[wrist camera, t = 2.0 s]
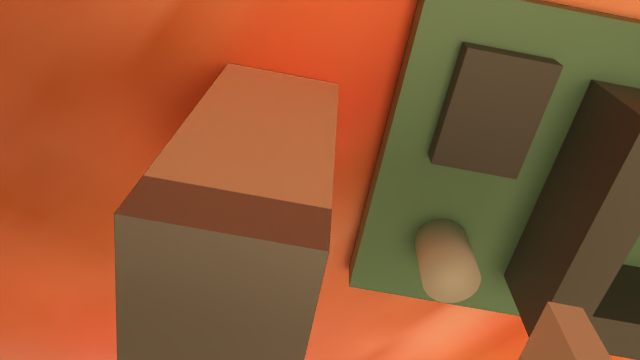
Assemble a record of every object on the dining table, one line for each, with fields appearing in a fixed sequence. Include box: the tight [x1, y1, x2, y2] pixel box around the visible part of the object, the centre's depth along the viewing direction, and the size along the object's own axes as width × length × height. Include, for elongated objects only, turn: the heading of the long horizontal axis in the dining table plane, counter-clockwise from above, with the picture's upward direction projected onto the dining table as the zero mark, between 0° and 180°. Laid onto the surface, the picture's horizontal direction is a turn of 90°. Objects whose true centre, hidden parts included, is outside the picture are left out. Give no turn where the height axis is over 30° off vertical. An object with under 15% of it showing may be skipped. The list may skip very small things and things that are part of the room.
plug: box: [114, 63, 339, 360], centre depth 15 cm, size 4×4×10 cm
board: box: [349, 0, 640, 360], centre depth 18 cm, size 16×12×5 cm
